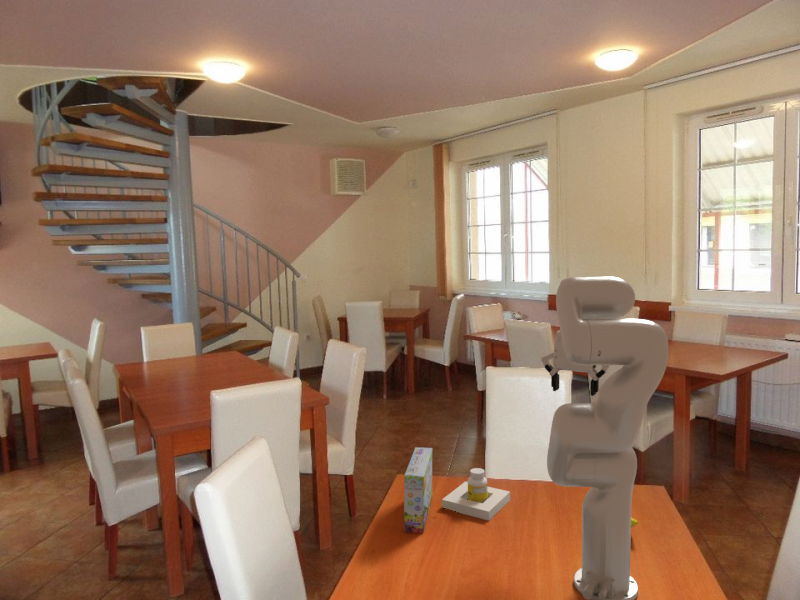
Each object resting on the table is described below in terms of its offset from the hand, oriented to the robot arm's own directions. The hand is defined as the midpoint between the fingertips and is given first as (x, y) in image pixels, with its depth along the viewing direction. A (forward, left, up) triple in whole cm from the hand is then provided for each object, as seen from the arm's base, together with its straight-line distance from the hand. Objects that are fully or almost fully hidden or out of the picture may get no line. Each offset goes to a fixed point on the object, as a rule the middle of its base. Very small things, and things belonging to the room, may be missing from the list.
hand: (574, 392), depth 149 cm
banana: (+2, -11, -34) cm, 35 cm away
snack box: (-20, +36, -34) cm, 53 cm away
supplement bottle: (-7, +25, -34) cm, 42 cm away
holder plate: (-7, +25, -33) cm, 42 cm away
